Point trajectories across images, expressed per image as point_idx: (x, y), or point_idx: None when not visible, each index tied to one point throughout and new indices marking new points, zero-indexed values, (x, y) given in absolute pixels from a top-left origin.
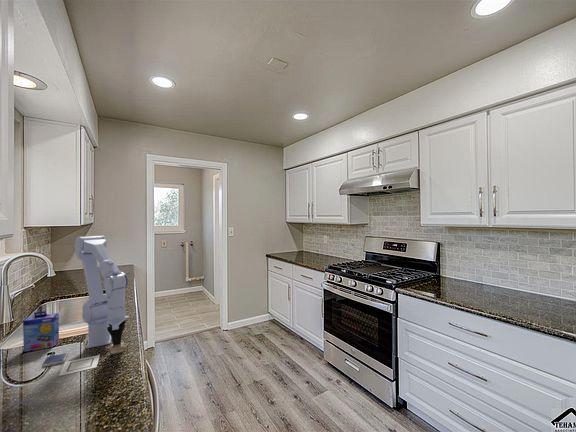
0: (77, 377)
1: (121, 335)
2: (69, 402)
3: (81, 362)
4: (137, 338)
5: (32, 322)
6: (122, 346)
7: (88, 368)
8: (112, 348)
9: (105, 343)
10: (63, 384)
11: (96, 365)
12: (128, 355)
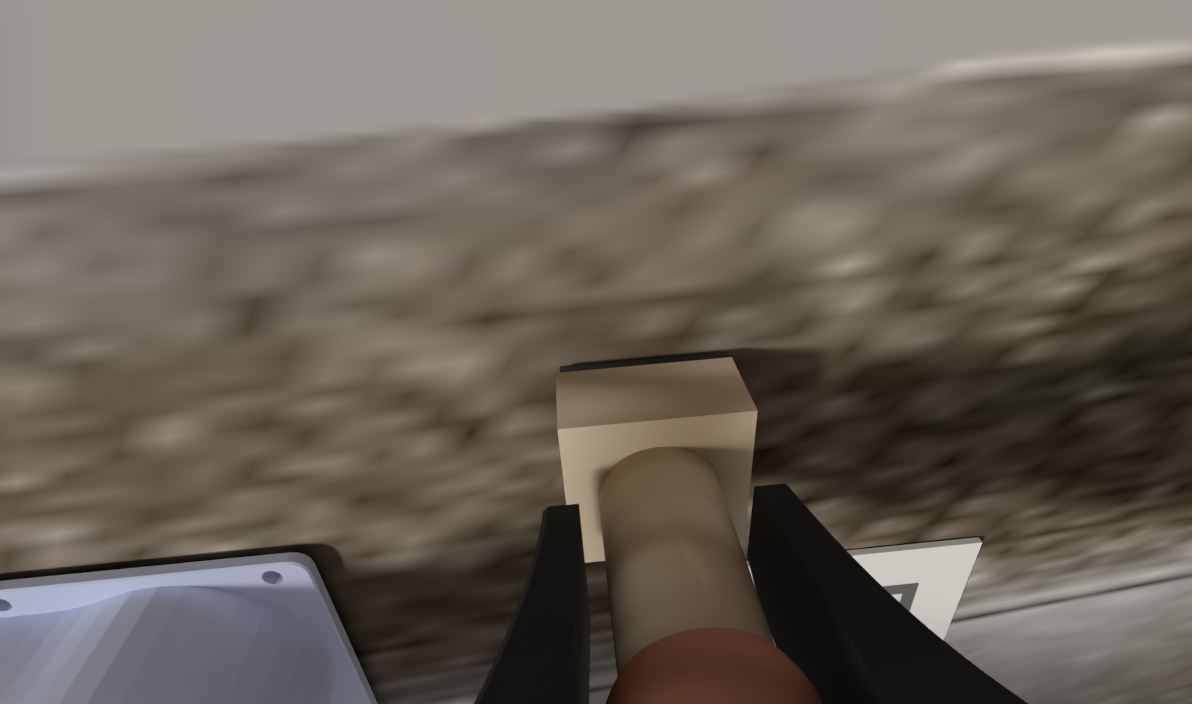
0: (1054, 616)
1: (911, 615)
2: None
3: None
4: (127, 191)
5: None
6: (756, 417)
7: (955, 591)
8: (745, 527)
9: (313, 601)
10: (1093, 660)
11: (938, 549)
12: (898, 263)
